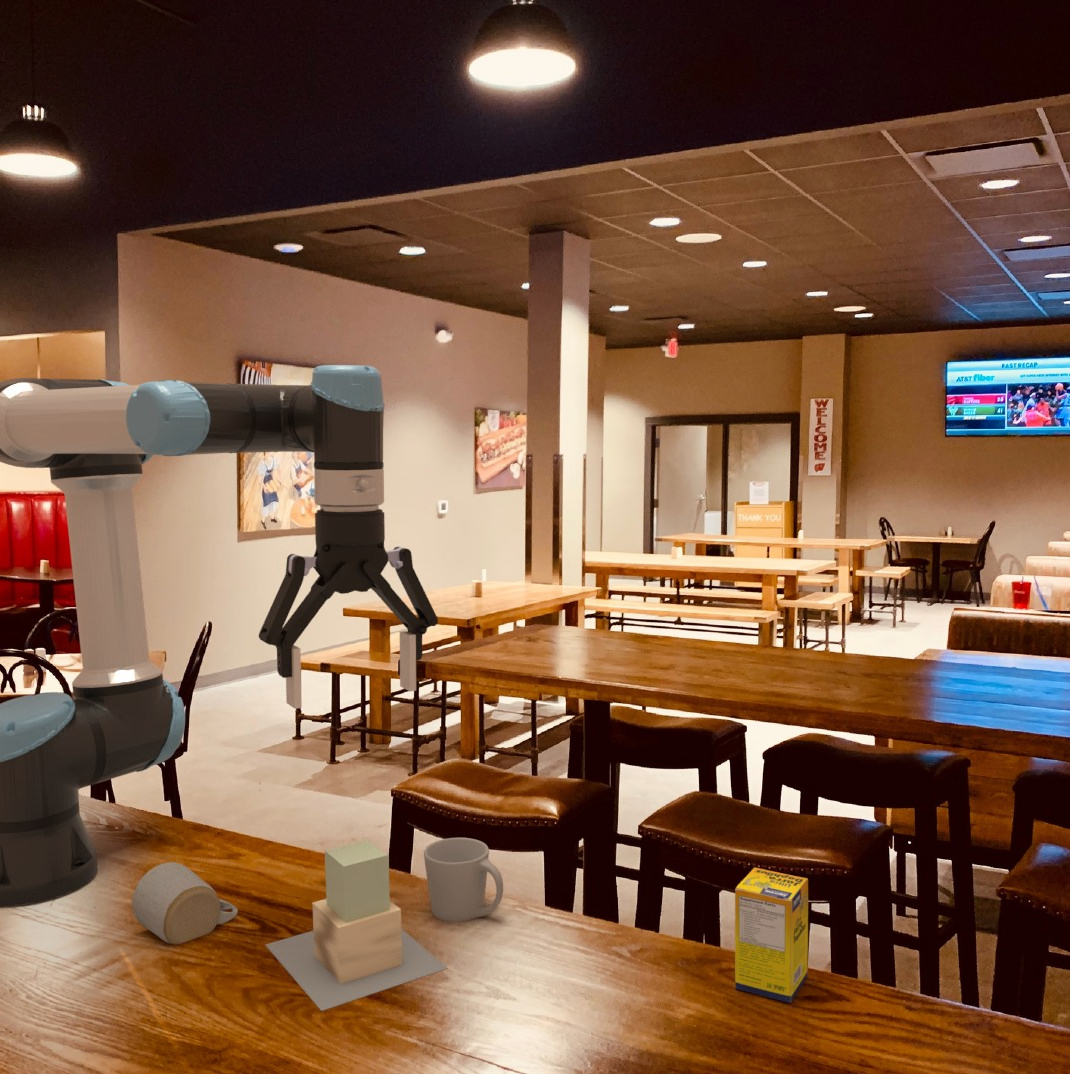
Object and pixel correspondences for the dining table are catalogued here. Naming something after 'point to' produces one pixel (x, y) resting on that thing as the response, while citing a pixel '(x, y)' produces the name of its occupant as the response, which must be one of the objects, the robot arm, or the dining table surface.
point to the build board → (331, 993)
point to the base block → (356, 942)
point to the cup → (460, 879)
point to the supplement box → (771, 934)
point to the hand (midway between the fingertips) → (352, 697)
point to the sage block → (357, 880)
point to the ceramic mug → (178, 904)
